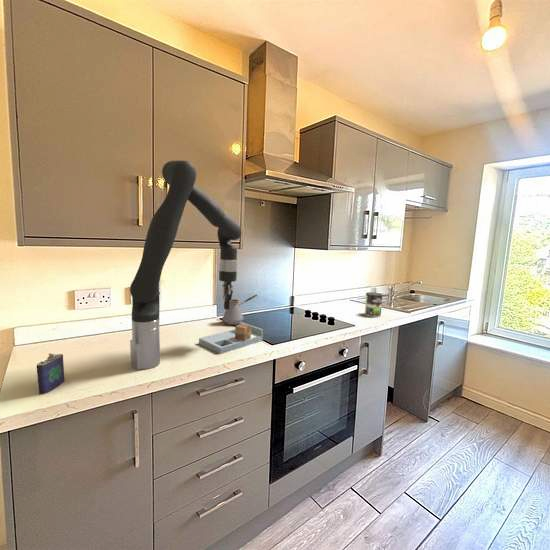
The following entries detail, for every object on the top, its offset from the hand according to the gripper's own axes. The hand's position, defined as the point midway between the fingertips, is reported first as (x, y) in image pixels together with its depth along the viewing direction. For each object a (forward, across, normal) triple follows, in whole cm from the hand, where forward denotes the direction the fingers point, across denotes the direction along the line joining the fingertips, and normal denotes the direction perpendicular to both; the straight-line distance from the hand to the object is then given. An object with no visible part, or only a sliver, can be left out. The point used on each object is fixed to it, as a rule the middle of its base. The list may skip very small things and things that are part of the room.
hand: (226, 309), depth 132 cm
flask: (+18, -24, +57) cm, 65 cm away
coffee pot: (+16, +33, -14) cm, 39 cm away
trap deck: (+16, +2, -3) cm, 17 cm away
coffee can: (+14, +32, -101) cm, 107 cm away
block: (+14, -1, -8) cm, 16 cm away
